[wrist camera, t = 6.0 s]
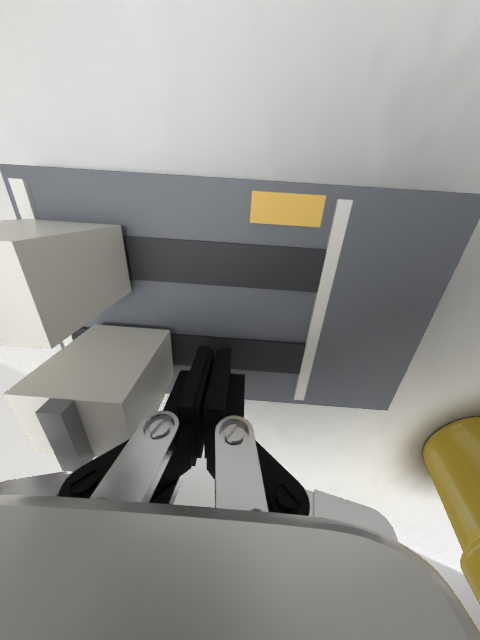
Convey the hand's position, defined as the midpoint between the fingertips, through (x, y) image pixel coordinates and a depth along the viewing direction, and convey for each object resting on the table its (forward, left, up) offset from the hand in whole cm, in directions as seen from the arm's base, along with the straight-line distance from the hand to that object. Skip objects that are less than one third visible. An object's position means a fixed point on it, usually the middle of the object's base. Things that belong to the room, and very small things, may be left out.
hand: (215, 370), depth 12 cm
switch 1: (+6, -5, -1) cm, 8 cm away
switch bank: (-1, -3, -4) cm, 4 cm away
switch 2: (+5, 0, -1) cm, 5 cm away
